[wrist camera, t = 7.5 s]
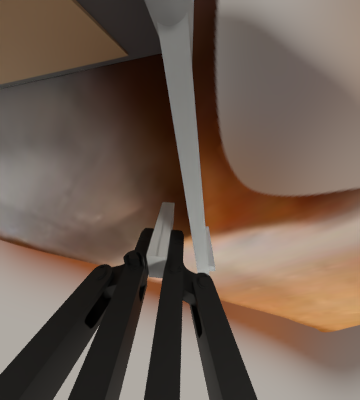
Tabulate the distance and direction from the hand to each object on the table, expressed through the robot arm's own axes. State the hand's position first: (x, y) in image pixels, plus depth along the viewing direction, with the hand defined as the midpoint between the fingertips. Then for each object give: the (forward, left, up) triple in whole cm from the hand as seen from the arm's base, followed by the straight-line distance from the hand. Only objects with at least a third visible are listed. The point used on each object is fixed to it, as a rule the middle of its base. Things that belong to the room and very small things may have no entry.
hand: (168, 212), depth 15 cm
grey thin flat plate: (-3, -4, -1) cm, 5 cm away
